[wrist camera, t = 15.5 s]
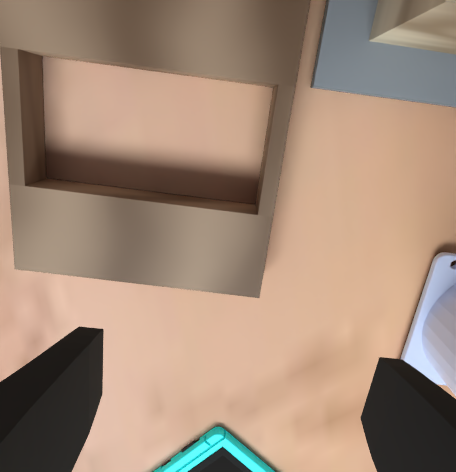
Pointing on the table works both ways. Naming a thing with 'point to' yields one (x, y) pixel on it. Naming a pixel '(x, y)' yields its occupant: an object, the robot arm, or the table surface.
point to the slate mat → (378, 60)
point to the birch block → (416, 24)
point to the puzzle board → (138, 201)
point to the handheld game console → (215, 456)
